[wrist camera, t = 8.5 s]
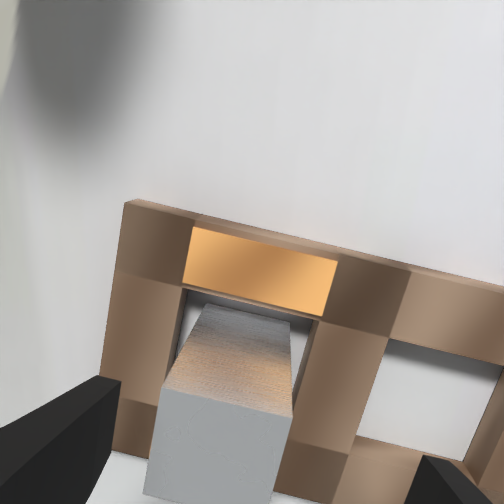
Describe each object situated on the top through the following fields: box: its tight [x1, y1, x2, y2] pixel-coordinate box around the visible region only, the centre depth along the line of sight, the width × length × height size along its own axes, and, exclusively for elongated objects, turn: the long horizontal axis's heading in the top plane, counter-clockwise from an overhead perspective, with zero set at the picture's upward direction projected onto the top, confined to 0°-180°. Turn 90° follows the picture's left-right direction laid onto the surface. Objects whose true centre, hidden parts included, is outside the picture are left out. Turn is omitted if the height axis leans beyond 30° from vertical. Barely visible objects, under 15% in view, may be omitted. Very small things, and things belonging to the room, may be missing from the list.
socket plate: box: [99, 199, 504, 504], centre depth 18 cm, size 21×12×2 cm, turn 77°
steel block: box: [143, 303, 293, 504], centre depth 15 cm, size 4×4×7 cm
